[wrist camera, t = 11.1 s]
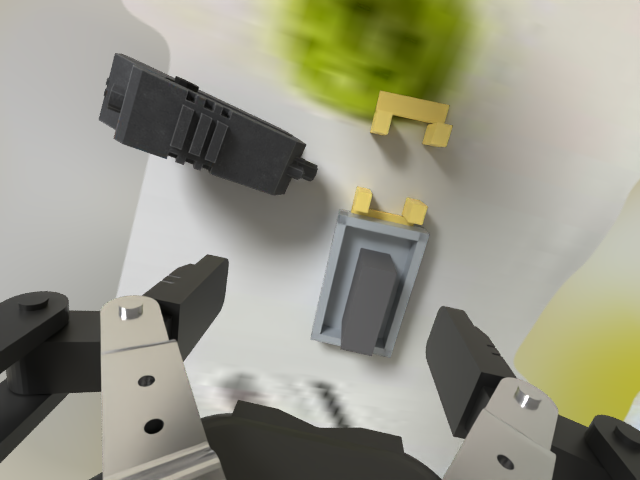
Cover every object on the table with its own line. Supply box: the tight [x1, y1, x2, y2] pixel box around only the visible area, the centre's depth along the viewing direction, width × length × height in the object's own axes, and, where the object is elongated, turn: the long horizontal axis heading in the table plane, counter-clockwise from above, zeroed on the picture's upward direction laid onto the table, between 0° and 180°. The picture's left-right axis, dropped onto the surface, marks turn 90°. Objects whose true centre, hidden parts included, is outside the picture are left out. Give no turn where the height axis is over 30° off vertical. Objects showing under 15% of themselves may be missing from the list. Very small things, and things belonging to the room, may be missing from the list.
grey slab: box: [341, 248, 397, 356], centre depth 37 cm, size 11×4×6 cm, turn 168°
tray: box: [311, 209, 430, 358], centre depth 39 cm, size 16×10×3 cm, turn 168°
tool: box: [99, 53, 318, 195], centre depth 32 cm, size 6×19×15 cm
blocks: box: [351, 91, 453, 226], centre depth 35 cm, size 14×7×4 cm, turn 168°
